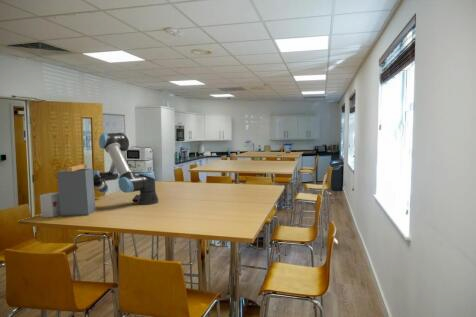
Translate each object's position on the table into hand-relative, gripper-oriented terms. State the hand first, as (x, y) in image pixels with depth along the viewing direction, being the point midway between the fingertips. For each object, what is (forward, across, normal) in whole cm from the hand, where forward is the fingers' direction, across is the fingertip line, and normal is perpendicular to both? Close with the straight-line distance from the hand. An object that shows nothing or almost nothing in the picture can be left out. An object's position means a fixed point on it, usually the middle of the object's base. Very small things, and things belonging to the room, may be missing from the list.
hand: (88, 172), depth 244 cm
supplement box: (+7, +17, -34) cm, 39 cm away
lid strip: (+18, 0, -5) cm, 18 cm away
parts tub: (+6, 0, -33) cm, 34 cm away
